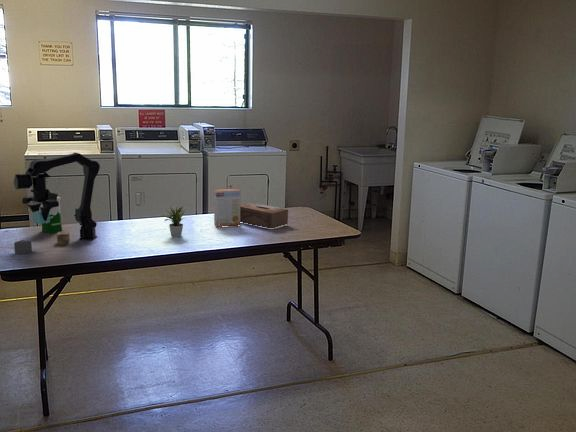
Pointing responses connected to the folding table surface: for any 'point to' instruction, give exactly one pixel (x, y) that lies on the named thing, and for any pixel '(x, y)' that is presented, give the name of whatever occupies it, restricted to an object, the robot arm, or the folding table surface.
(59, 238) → the walnut block
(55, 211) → the milk carton
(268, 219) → the tissue box cover
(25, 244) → the charcoal block
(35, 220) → the teal block
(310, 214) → the folding table surface
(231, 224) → the cracker box
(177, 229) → the house plant
